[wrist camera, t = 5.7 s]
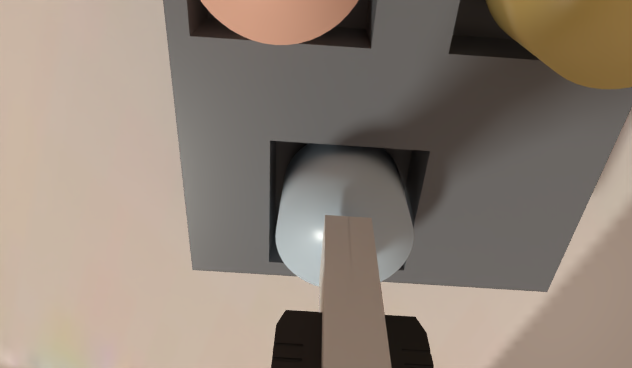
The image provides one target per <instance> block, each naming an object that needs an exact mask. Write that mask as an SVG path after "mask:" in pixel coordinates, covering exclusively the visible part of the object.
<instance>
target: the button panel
mask: <svg viewBox="0 0 632 368" xmlns="http://www.w3.org/2000/svg"><path fill="white" fill-rule="evenodd" d="M163 4H164V13H165V22H166V31H167V40H168V49H169V58H170V68H171V77H172V86H173V95H174V104H175V113H176V123H177V132H178V141H179V150H180V159H181V168H182V178H183V187H184V196H185V205H186V214H187V223H188V232H189V242H190V251H191V260H192V269H193V270H203V271H219V272H235V273H251V274H267V275H283V276H297V275H295V274H294V273H293V272H292V271H291V270H290V269H289V268H288V267H287V266H286V265H285V264H284V262H283V261H282V259H281V257H280V255H279V253H278V250H277V246H276V237H275V235H276V227H277V220H278V214H279V208H280V201H281V195H282V189H283V182H284V176H285V172H286V169H287V167H288V165H289V163H290V161H291V160H292V158H293V157H294V156H295V154H296V153H297V152H298V151H299V150H300V149H302V148H303V147H304V146H306V145H307V144H308V143H315V144H330V145H345V146H361V147H376V148H384V149H385V150H386V151H387V152H388V153H389V154H390V155H391V157H392V158H393V159H394V161H395V163H396V165H397V168H398V170H399V174H400V178H401V182H402V186H403V189H404V193H405V197H406V201H407V205H408V209H409V213H410V217H411V221H412V225H413V230H414V240H413V246H412V249H411V252H410V254H409V256H408V258H407V260H406V261H405V263H404V264H403V265H402V266H401V267H400V268H399V270H397V271H396V272H395V273H394V274H393V275H391V276H390V277H388V278H387V279H385V280H383V281H382V282H396V283H412V284H428V285H444V286H460V287H476V288H492V289H508V290H524V291H540V292H547V291H548V289H549V286H550V284H551V282H552V280H553V278H554V276H555V273H556V271H557V269H558V267H559V265H560V262H561V260H562V258H563V256H564V254H565V252H566V249H567V247H568V245H569V243H570V241H571V238H572V236H573V234H574V232H575V230H576V228H577V225H578V223H579V221H580V219H581V217H582V214H583V212H584V210H585V208H586V206H587V204H588V201H589V199H590V197H591V195H592V193H593V190H594V188H595V186H596V184H597V182H598V179H599V177H600V175H601V173H602V171H603V169H604V166H605V164H606V162H607V160H608V158H609V155H610V153H611V151H612V149H613V147H614V145H615V142H616V140H617V138H618V136H619V134H620V131H621V129H622V127H623V125H624V123H625V121H626V118H627V116H628V114H629V112H630V110H631V107H632V87H630V88H622V89H596V88H589V87H585V86H582V85H578V84H576V83H573V82H571V81H569V80H567V79H565V78H564V77H562V76H561V75H559V74H558V73H556V72H555V71H554V70H552V69H551V68H550V67H548V66H547V65H546V64H545V63H543V62H542V61H541V60H539V59H538V58H537V57H536V56H534V55H533V54H532V53H530V52H529V51H528V50H527V49H525V48H524V47H523V46H521V45H520V44H519V43H518V42H516V41H515V40H514V39H512V38H511V37H510V36H509V35H507V34H506V33H505V32H504V31H503V30H502V29H501V28H500V27H499V26H498V24H497V23H496V22H495V20H494V19H493V17H492V15H491V13H490V11H489V9H488V6H487V3H486V0H358V2H357V4H356V5H355V6H354V8H353V9H352V10H351V11H350V13H349V14H348V15H347V16H346V17H345V18H344V19H343V20H342V21H341V22H340V23H339V24H338V25H336V26H335V27H334V28H332V29H331V30H330V31H328V32H326V33H324V34H323V35H321V36H319V37H317V38H314V39H312V40H309V41H306V42H302V43H298V44H291V45H272V44H264V43H260V42H257V41H253V40H250V39H248V38H245V37H243V36H241V35H239V34H237V33H235V32H234V31H232V30H230V29H229V28H228V27H226V26H225V25H223V24H222V23H221V22H220V21H219V20H217V19H216V18H215V17H214V16H213V15H212V14H211V13H210V12H209V11H208V9H207V8H206V7H205V6H204V5H203V3H202V2H201V0H163Z"/></svg>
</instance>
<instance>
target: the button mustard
mask: <svg viewBox="0 0 632 368" xmlns="http://www.w3.org/2000/svg"><path fill="white" fill-rule="evenodd" d="M486 3H487V6H488V9H489V11H490V13H491V15H492V17H493V19H494V20H495V22H496V23H497V24H498V26H499V27H500V28H501V29H502V30H503V31H504V32H505V33H506V34H507V35H509V36H510V37H511V38H512V39H514V40H515V41H516V42H518V43H519V44H520V45H521V46H523V47H524V48H525V49H527V50H528V51H529V52H530V53H532V54H533V55H534V56H536V57H537V58H538V59H539V60H541V61H542V62H543V63H545V64H546V65H547V66H548V67H550V68H551V69H552V70H554V71H555V72H556V73H558V74H559V75H561V76H562V77H564V78H565V79H567V80H569V81H571V82H573V83H576V84H578V85H582V86H585V87H589V88H596V89H622V88H630V87H632V0H486Z"/></svg>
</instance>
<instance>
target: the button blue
mask: <svg viewBox="0 0 632 368" xmlns="http://www.w3.org/2000/svg"><path fill="white" fill-rule="evenodd" d="M325 215H335V216H351V217H366V218H372V223H373V231H374V239H375V246H376V254H377V261H378V269H379V276H380V282H382V281H383V280H385V279H387V278H388V277H390V276H391V275H393V274H394V273H395V272H396V271H397V270H399V268H400V267H401V266H402V265H403V264H404V263H405V261H406V260H407V258H408V256H409V254H410V252H411V249H412V246H413V240H414V230H413V225H412V221H411V217H410V213H409V209H408V205H407V201H406V197H405V193H404V189H403V186H402V182H401V178H400V174H399V170H398V168H397V165H396V163H395V161H394V159H393V158H392V157H391V155H390V154H389V153H388V152H387V151H386V150H385V149H384V148H376V147H361V146H345V145H330V144H315V143H308V144H307V145H306V146H304V147H303V148H302V149H300V150H299V151H298V152H297V153H296V154H295V156H294V157H293V158H292V160H291V161H290V163H289V165H288V167H287V169H286V172H285V176H284V182H283V189H282V195H281V201H280V208H279V214H278V220H277V227H276V235H275V237H276V246H277V250H278V253H279V255H280V257H281V259H282V261H283V262H284V264H285V265H286V266H287V267H288V268H289V269H290V270H291V271H292V272H293V273H294V274H295V275H297V276H298V277H299V278H301V279H303V280H304V281H306V282H308V283H310V284H313V285H315V286H318V287H319V276H320V265H321V254H322V242H323V231H324V220H325Z"/></svg>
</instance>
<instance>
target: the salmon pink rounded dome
mask: <svg viewBox="0 0 632 368" xmlns="http://www.w3.org/2000/svg"><path fill="white" fill-rule="evenodd" d="M201 2H202V3H203V5H204V6H205V7H206V8H207V9H208V11H209V12H210V13H211V14H212V15H213V16H214V17H215V18H216V19H217V20H219V21H220V22H221V23H222V24H223V25H225V26H226V27H228V28H229V29H230V30H232V31H234V32H235V33H237V34H239V35H241V36H243V37H245V38H248V39H250V40H253V41H257V42H260V43H264V44H272V45H291V44H298V43H302V42H306V41H309V40H312V39H314V38H317V37H319V36H321V35H323V34H324V33H326V32H328V31H330V30H331V29H332V28H334V27H335V26H336V25H338V24H339V23H340V22H341V21H342V20H343V19H344V18H345V17H346V16H347V15H348V14H349V13H350V11H351V10H352V9H353V8H354V6H355V5H356V4H357V2H358V0H201Z"/></svg>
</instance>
